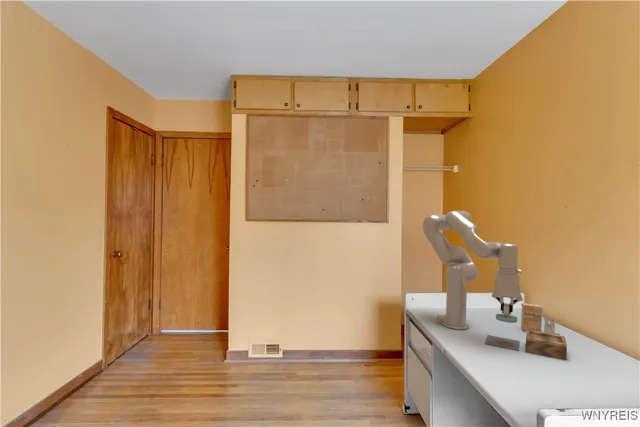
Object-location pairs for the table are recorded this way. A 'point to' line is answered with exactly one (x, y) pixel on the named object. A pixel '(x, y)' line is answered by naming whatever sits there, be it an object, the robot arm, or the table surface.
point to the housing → (546, 344)
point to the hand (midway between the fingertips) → (506, 312)
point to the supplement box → (531, 317)
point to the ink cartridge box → (550, 327)
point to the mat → (502, 342)
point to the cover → (506, 315)
